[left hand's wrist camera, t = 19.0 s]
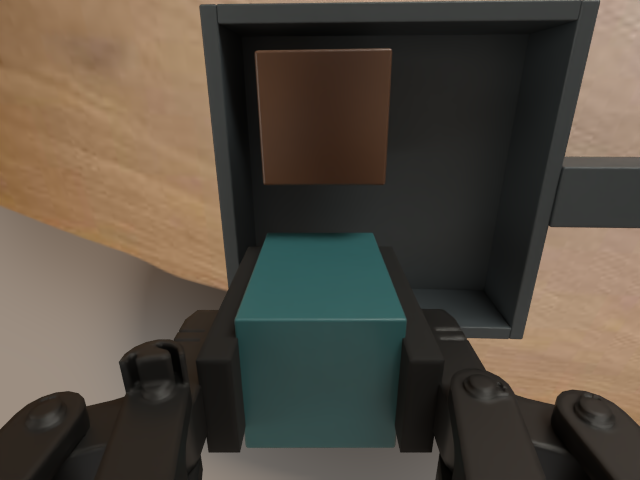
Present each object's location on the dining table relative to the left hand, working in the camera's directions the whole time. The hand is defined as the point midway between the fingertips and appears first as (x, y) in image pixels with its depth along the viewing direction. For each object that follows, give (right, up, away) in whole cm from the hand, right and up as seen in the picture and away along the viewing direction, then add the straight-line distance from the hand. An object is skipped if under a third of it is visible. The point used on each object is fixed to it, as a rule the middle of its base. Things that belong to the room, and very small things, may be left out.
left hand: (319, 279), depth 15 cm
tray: (+9, +5, +4) cm, 11 cm away
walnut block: (0, +7, +3) cm, 8 cm away
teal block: (0, 0, 0) cm, 0 cm away
